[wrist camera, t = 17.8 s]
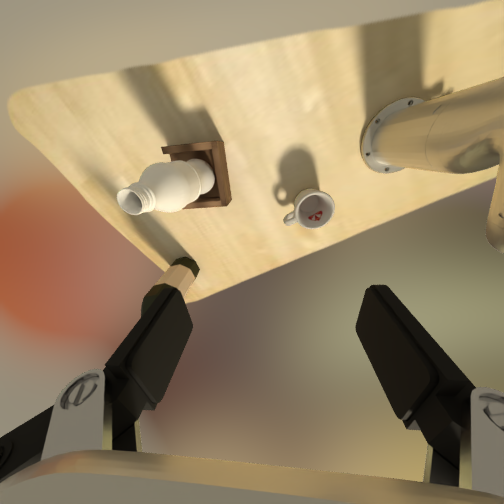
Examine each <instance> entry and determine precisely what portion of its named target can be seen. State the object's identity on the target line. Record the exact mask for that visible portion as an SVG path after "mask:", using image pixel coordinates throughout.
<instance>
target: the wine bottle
mask: <svg viewBox="0 0 504 504" xmlns="http://www.w3.org/2000/svg"><path fill="white" fill-rule="evenodd" d="M199 270H200V269H199V267H198V265H197V263H196V261H194V260H192V259H189V258H187V257H183V258H179V259H176V260H175V262H174V263H173V264H172V265H171V266H170V267H169V269H168V270H167V271H166V272H165V273H164V274H163V276H162V277H161V278H160V279H159V280H158V281H157V283H156V284H155V285H154V286H153V287H152V288H151V290H150V291H149V292H148V293H147V294H146V295H145V297H144V299H143V302H142V308H141V317H142V316H143V315H144V313H145V312H146V311H147V309H148V308H149V307H150V305H151V304H152V303H153V302H154V300H155V299H156V298H157V296H158V295H159V294H160V292H161V291H162V290H163V289H164V288H166V287H176V288H177V289H178V290H180V291H181V293H182V296H183V299H184V298H185V296H186V294H187V292H188V291H189V289H190V287H191V285H192V284H193V282H194V280H195V279H196V277H197V275H198V273H199Z"/></svg>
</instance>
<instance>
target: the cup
mask: <svg viewBox="0 0 504 504" xmlns="http://www.w3.org/2000/svg"><path fill="white" fill-rule="evenodd" d="M334 210H335V205H334V201H333V199H332V198H331V196H330V195H328V194H327V193H325V192H322V191H319V190H316V189H305V190H303V191H301V192H300V193H299V194H298V195H297V197H296V199H295V202H294V211H292V212H291V213H289V214H287V215H286V216H285V217H284V219H283V221H284V223H285V225H287V226H290V225H292V224H295V223H297V222H298V223H299V224H300V225H301V226H302V227H304V228H307V229H317V228H320V227H322V226H324V225H326V224H327V223H328V222H329V221H330V220H331V218H332V216H333V214H334Z"/></svg>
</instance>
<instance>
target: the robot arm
mask: <svg viewBox="0 0 504 504" xmlns="http://www.w3.org/2000/svg"><path fill="white" fill-rule="evenodd" d="M408 103H409V104H408ZM375 121H377V122H376V123H375ZM361 153H362V158H363V160H364V163H365V164H366V165H367V166H368V167H369V168H370V169H371V170H373V171H375V172H379V173H394V172H397V171H400V170H402V169H405V168H411V169H419V170H427V171H435V172H443V173H452V174H466V173H473V172H477V171H481V170H485V169H488V168H491V167H493V166H496V165H498V164H499V168H498V172H497V177H496V179H497V182H496V185H495V190H494V194H493V198H492V202H491V206H490V210H489V214H488V218H487V223H486V238H487V240H488V242H489V243H490V245H491V246H492V247H494V248H495V249H496V250H498V251H499V252H501V253H503V254H504V77H502V78H499V79H495V80H492V81H489V82H486V83H483V84H480V85H477V86H473V87H470V88H467V89H464V90H461V91H457V92H454V93H451V94H448V95H445V96H442V97H438V98H435V99H432V100H429V101H425V100H423V99H421V98H415V97H410V98H404V99H400V100H397V101H395V102H393V103H391V104H389V105H388V106H386V107H385V108H383V109H382V110H381V111H380V112H379V113H378V114H377V115H376V116H375V117H374V118H373V119H372V121H371V122H370V123H369V125H368V127H367V129H366V131H365V133H364V136H363V139H362V144H361ZM366 153H367V155H366ZM385 168H386V170H385ZM192 328H193V324H192V321H191V318H190V315H189V313H188V310H187V307H186V304H185V302H184V299H183V296H182V293H181V291H180V290H178V289H177V288H176V287H166V288H164V289H163V290H162V291H161V292H160V294H159V295H158V296H157V298H156V299H155V300H154V302H153V303H152V304H151V305H150V307H149V308H148V309H147V311H146V312H145V313H144V315H143V316H142V317H141V319H140V320H139V321H138V322H137V324H136V325H135V326H134V328H133V329H132V330H131V331H130V333H129V334H128V335H127V337H126V338H125V339H124V341H123V342H122V343H121V344H120V346H119V347H118V348H117V350H116V351H115V352H114V354H113V355H112V356H111V358H110V359H109V360H108V361H107V363H106V364H105V366H106V367H105V368H104V370H103V371H102V370H100V369H93V370H89V371H87V372H84V373H82V374H81V375H79V376H78V377H76V378H75V379H74V380H72V381H71V382H70V383H69V384H68V385H67V386H66V387H65V388H64V389H63V390H62V391H61V393H60V394H59V396H58V397H57V399H56V402H55V404H54V405H53V406H51V407H50V408H48V409H47V410H45V411H44V412H42V413H40V414H38V415H37V416H35V417H34V418H32V419H30V420H29V421H27V422H25V423H24V424H22V425H20V426H19V427H17V428H15V429H14V430H12V431H11V432H9V433H7V434H6V435H4V436H2V437H1V438H0V504H504V393H502V392H500V391H498V390H495V389H491V388H487V387H477V388H476V387H475V386H474V385H473V384H472V383H471V381H470V380H469V379H468V378H467V377H466V376H465V375H464V373H463V372H462V371H461V370H460V369H459V368H458V366H457V365H456V364H455V363H454V362H453V361H452V360H451V358H450V357H449V356H448V355H447V354H446V353H445V352H444V350H443V349H442V348H441V347H440V346H439V345H438V343H437V342H436V341H435V340H434V339H433V338H432V337H431V335H430V334H429V333H428V332H427V331H426V330H425V329H424V328H423V326H422V325H421V324H420V323H419V322H418V321H417V319H416V318H415V317H414V316H413V315H412V314H411V313H410V311H409V310H408V309H407V308H406V307H405V306H404V304H402V302H401V301H400V300H399V299H398V297H397V296H396V295H395V294H394V293H393V292H392V291H391V290H390V288H389V287H388V286H386V285H371V286H370V287H369V288H367V289H366V291H365V295H364V298H363V302H362V305H361V309H360V312H359V316H358V320H357V323H356V332H357V335H358V337H359V339H360V341H361V343H362V345H363V348H364V350H365V352H366V354H367V355H368V358H369V360H370V362H371V364H372V366H373V368H374V371H375V373H376V375H377V377H378V379H379V381H380V383H381V385H382V387H383V390H384V391H385V393H386V396H387V398H388V400H389V402H390V404H391V406H392V408H393V410H394V412H395V414H396V416H397V417H398V418H399V419H401V420H402V421H403V423H404V425H405V427H406V429H409V430H421V432H422V433H423V435H424V437H425V439H426V441H427V443H428V446H427V454H426V461H425V462H426V463H425V469H424V477H423V482H417V481H409V480H401V479H394V478H385V477H376V476H366V475H358V474H348V473H339V472H330V471H321V470H311V469H303V468H292V467H283V466H274V465H264V464H255V463H245V462H236V461H225V460H216V459H206V458H196V457H186V456H176V455H166V454H156V453H145V452H142V443H141V434H140V424H139V416H140V414H141V412H142V410H155V408H156V405H157V403H159V402H160V401H161V400H162V398H163V396H164V394H165V392H166V390H167V387H168V385H169V383H170V380H171V378H172V376H173V373H174V371H175V369H176V366H177V364H178V362H179V359H180V357H181V355H182V352H183V350H184V348H185V345H186V343H187V341H188V339H189V336H190V334H191V331H192Z"/></svg>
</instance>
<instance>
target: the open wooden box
mask: <svg viewBox="0 0 504 504" xmlns="http://www.w3.org/2000/svg"><path fill="white" fill-rule="evenodd" d="M161 148H162V152H163V154H170V157H171V161H178V160H181V161H185V162H187V161H188V160H190V159H201V160H203V161H205V162H207V163H208V164H209V165H210V166H211V167H212V170H213V174H214V176H215V182H214V185H213V187H212V188H211V190H210V191H208V192H207V193H205V194H200V195H199V197H198V198H197V199H196V200H195V201H193V202H191V203H189V204H187V205H186V206H185V207H184V208H183V209H192V208H207V207H222V206H227V205H228V204H229V203H230V201H231V200H232V198H231V191H230V183H229V176H228V169H227V162H226V155H225V148H224V142H220V141H211V142H202V143H193V144H184V145H175V146H166V147H161Z"/></svg>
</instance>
